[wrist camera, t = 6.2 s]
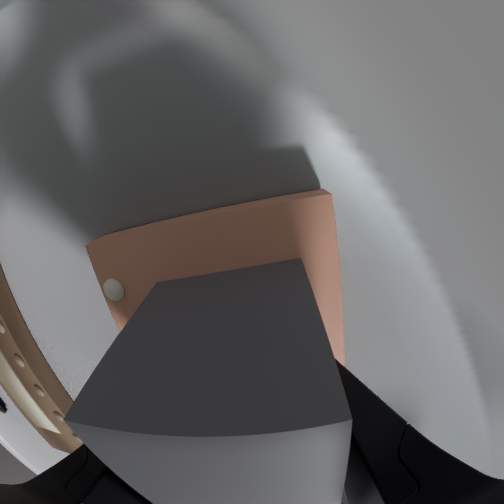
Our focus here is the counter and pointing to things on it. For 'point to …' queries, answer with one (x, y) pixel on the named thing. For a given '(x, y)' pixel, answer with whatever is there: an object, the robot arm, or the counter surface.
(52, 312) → the counter surface
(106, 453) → the stub
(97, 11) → the counter surface
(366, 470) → the robot arm
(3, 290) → the board
